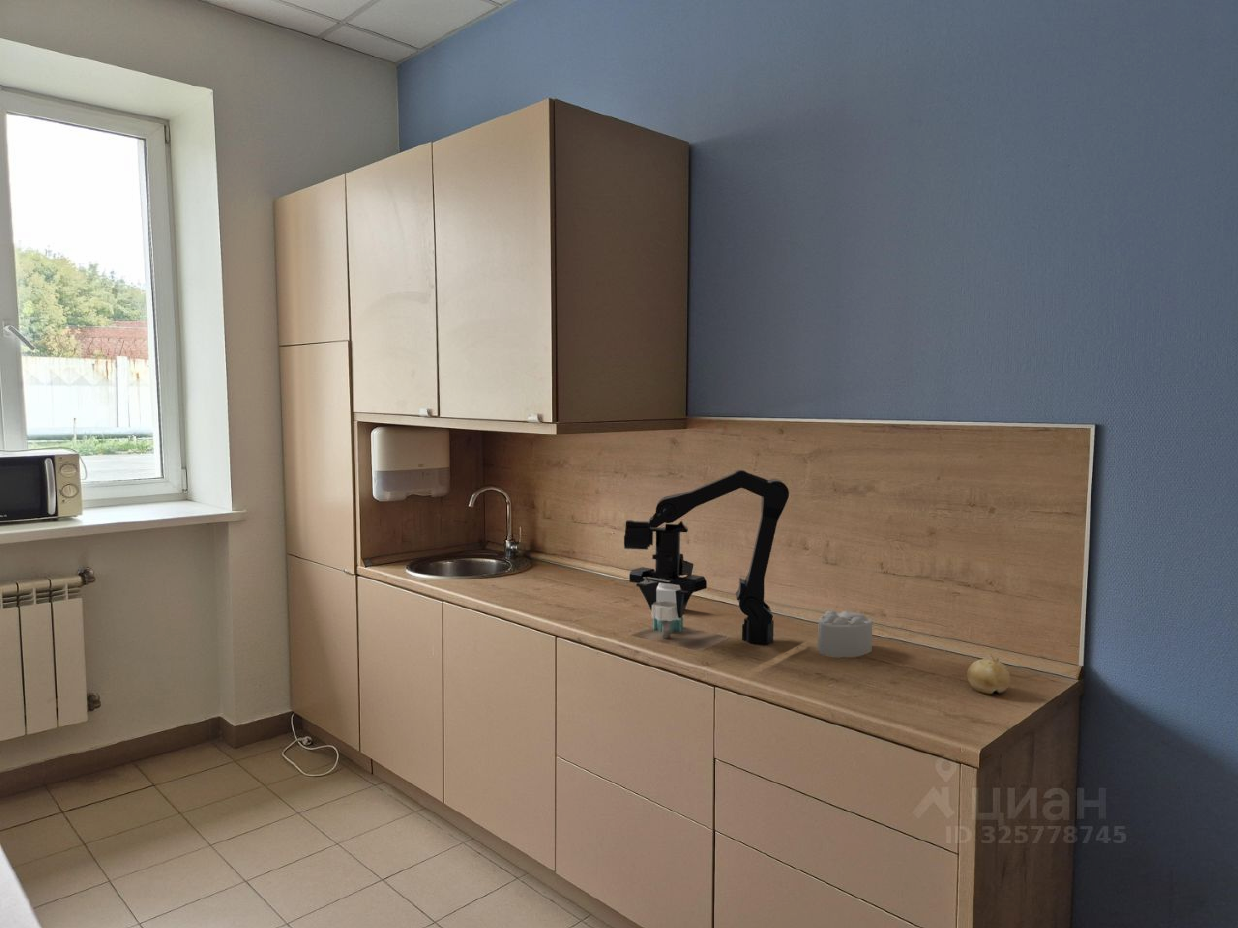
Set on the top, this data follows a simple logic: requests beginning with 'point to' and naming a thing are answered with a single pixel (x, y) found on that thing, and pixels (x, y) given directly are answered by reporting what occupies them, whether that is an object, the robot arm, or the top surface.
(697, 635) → the gear board
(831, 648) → the lumpy-topped squat cylinder
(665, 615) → the off-white gear
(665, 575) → the robot arm
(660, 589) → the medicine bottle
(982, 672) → the onion
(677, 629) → the teal gear
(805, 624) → the top surface
